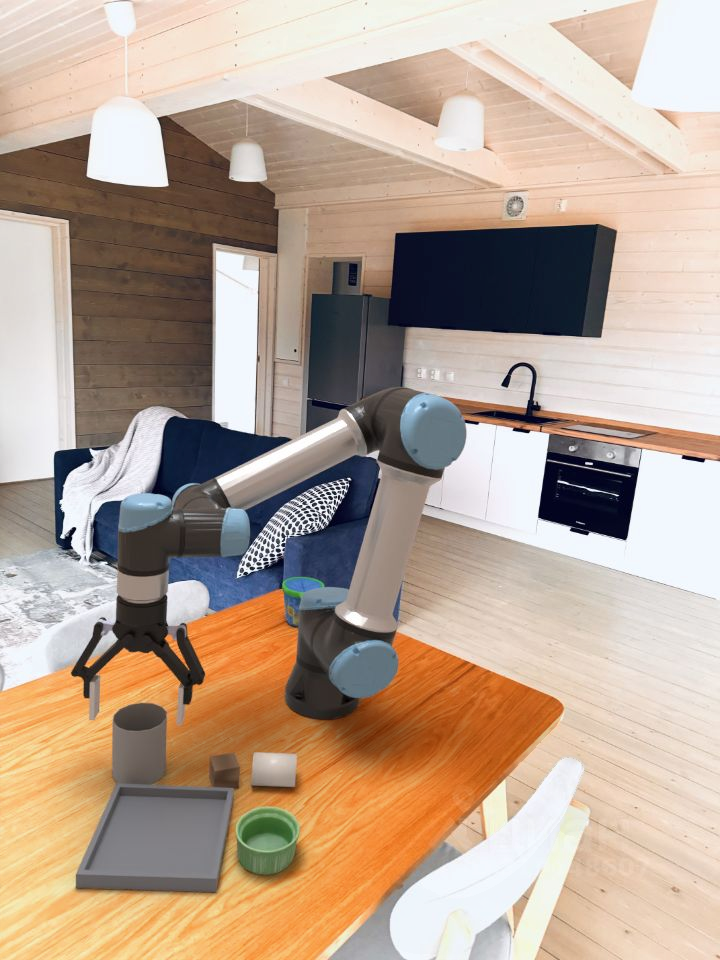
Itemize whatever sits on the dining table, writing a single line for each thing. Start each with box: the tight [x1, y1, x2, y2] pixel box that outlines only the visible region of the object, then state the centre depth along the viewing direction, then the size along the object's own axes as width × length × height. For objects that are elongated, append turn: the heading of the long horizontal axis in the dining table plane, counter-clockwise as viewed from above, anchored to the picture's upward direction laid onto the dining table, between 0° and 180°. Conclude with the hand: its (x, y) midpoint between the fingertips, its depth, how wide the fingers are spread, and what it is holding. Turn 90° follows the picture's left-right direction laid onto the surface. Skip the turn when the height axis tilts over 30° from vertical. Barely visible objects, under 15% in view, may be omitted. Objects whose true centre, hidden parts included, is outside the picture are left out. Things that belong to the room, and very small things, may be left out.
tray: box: [75, 782, 235, 893], centre depth 98 cm, size 18×18×2 cm
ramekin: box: [234, 806, 301, 876], centre depth 97 cm, size 9×9×4 cm
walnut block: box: [208, 751, 241, 790], centre depth 111 cm, size 4×4×4 cm
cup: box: [111, 702, 168, 785], centre depth 112 cm, size 8×8×10 cm
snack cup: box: [281, 576, 326, 628], centre depth 173 cm, size 16×10×10 cm
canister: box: [250, 751, 298, 788], centre depth 112 cm, size 7×5×5 cm
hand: (137, 718), depth 111 cm, fingers open, 13 cm apart
